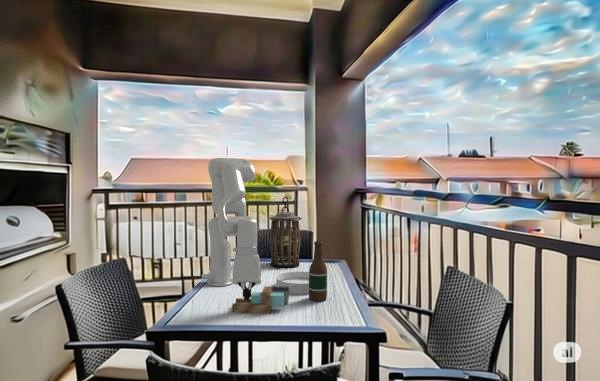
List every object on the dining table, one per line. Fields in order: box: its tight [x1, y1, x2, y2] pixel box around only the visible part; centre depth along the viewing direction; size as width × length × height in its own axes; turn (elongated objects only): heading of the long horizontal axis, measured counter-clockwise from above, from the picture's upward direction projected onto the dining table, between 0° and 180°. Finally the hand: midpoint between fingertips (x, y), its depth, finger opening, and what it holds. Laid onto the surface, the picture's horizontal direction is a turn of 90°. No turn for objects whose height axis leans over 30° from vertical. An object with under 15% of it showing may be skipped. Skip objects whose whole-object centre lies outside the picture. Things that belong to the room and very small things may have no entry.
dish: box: [275, 271, 309, 296], centre depth 173 cm, size 22×22×5 cm
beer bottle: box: [308, 240, 328, 303], centre depth 156 cm, size 8×8×24 cm
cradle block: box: [269, 285, 290, 306], centre depth 152 cm, size 8×8×5 cm
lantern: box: [268, 196, 302, 270], centre depth 218 cm, size 19×19×40 cm
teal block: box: [250, 291, 284, 307], centre depth 142 cm, size 12×4×4 cm, turn 89°
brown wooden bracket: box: [231, 285, 273, 314], centre depth 142 cm, size 14×8×8 cm, turn 88°
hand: (247, 299), depth 142 cm, fingers closed
